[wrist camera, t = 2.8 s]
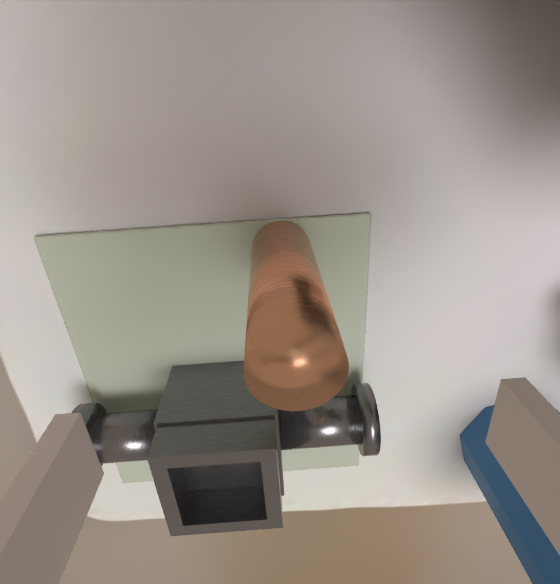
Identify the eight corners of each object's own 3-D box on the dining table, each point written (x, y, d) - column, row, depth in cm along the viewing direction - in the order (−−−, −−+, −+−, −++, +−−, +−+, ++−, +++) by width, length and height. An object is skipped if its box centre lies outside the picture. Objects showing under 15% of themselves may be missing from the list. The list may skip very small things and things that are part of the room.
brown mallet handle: (249, 222, 25) (237, 330, 14) (309, 218, 25) (350, 322, 14) (254, 278, 27) (248, 414, 16) (311, 274, 27) (347, 407, 16)
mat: (36, 235, 26) (33, 237, 25) (369, 212, 26) (371, 214, 25) (124, 479, 36) (122, 483, 36) (357, 461, 37) (358, 465, 36)
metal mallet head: (82, 372, 30) (22, 464, 23) (364, 351, 30) (397, 437, 23) (117, 466, 35) (77, 569, 28) (359, 448, 35) (385, 545, 28)
